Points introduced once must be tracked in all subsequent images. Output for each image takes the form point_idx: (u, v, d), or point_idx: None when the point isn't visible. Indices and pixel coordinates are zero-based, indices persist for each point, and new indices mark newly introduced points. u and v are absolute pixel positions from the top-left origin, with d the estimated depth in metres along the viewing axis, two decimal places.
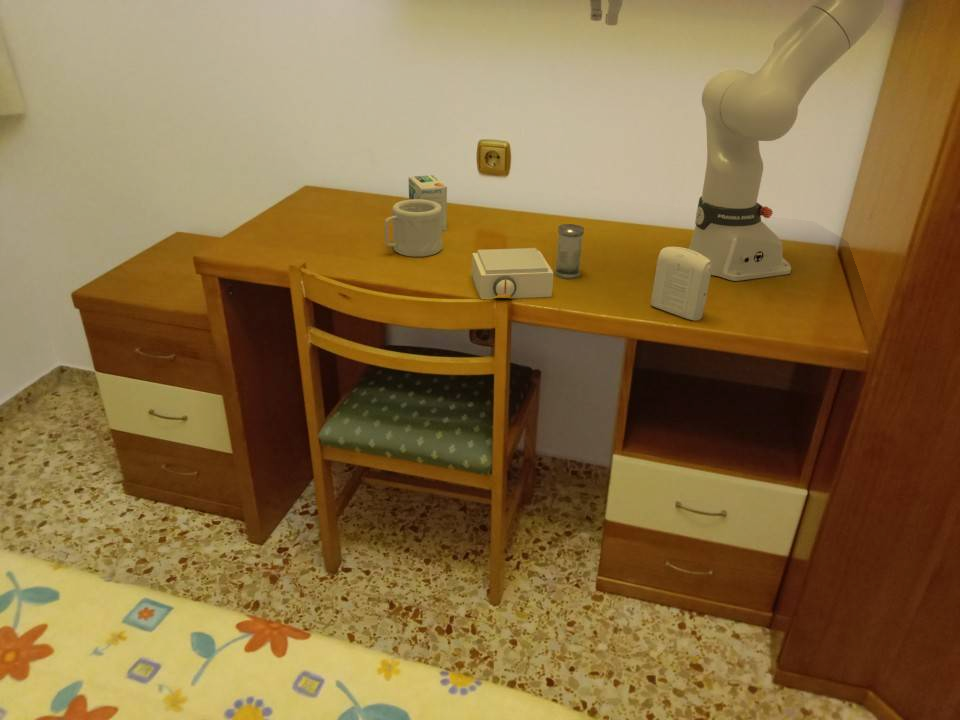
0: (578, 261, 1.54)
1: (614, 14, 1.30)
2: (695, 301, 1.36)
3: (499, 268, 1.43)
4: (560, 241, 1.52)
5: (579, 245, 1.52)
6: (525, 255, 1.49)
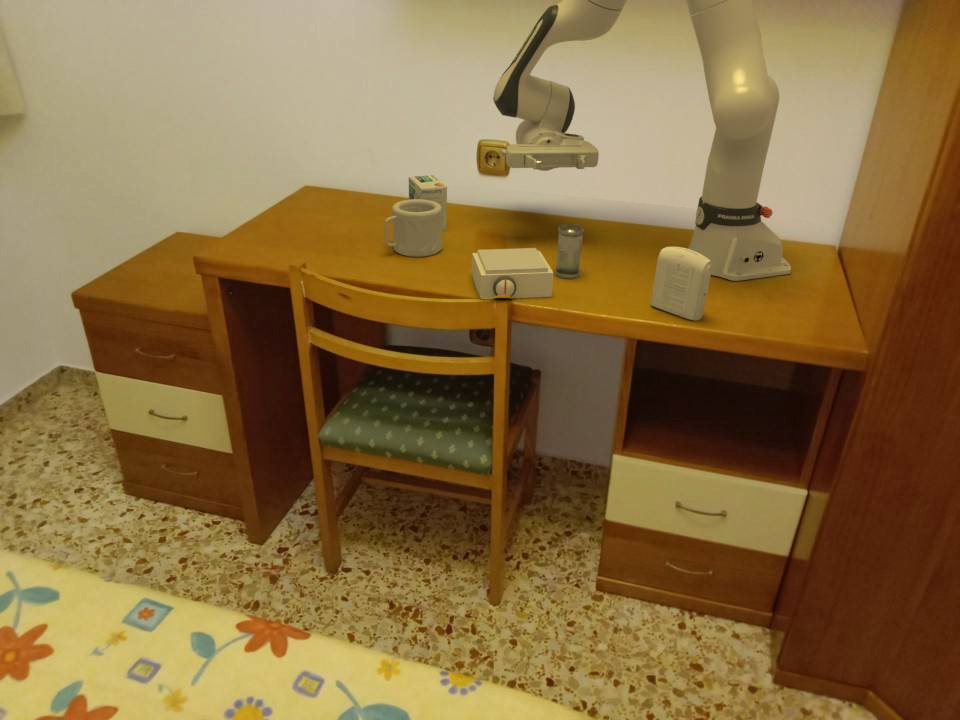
0: (578, 261, 1.54)
1: (532, 162, 1.58)
2: (695, 301, 1.36)
3: (499, 268, 1.43)
4: (560, 241, 1.52)
5: (579, 245, 1.52)
6: (525, 255, 1.49)
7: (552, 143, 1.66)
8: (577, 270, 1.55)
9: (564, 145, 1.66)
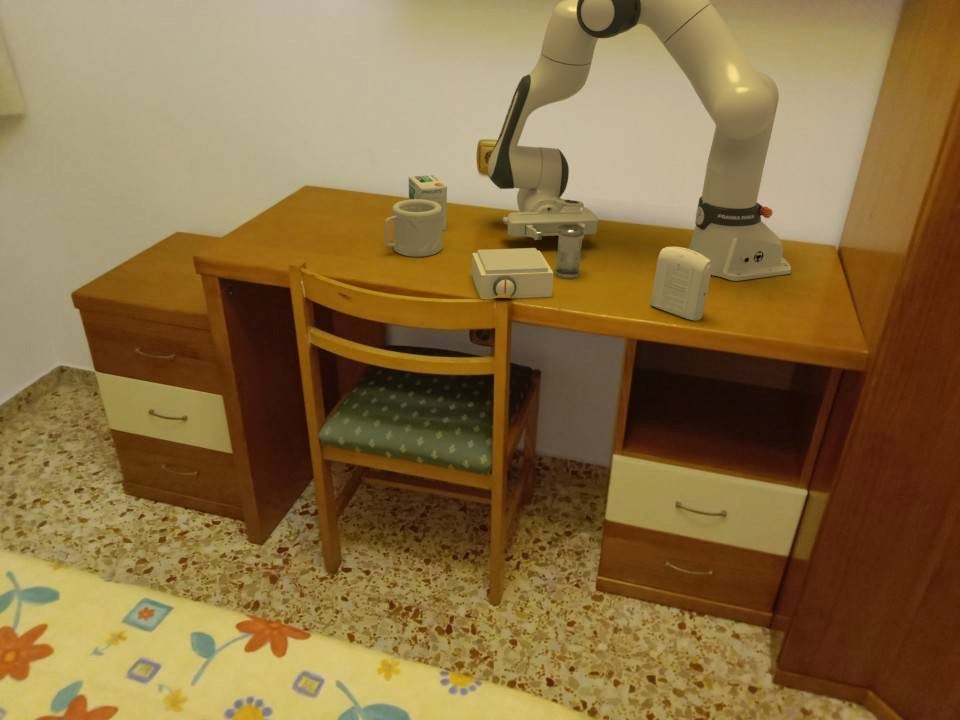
0: (578, 261, 1.54)
1: (533, 232, 1.62)
2: (695, 301, 1.36)
3: (499, 268, 1.43)
4: (560, 241, 1.52)
5: (579, 245, 1.52)
6: (525, 255, 1.49)
7: (552, 211, 1.69)
8: (577, 270, 1.55)
9: (564, 212, 1.70)
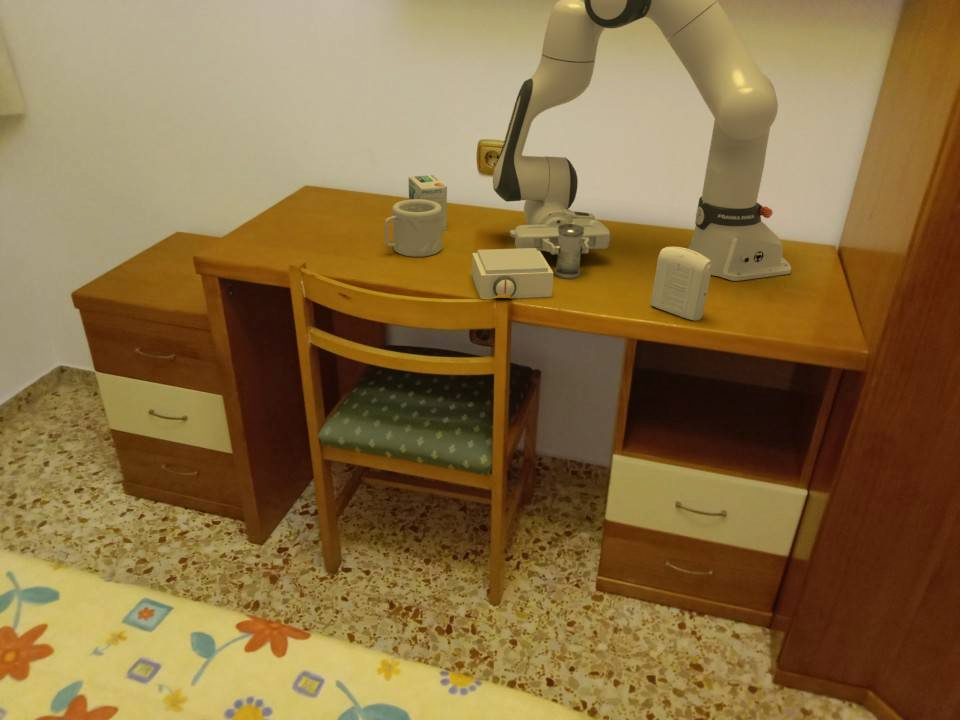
0: (578, 261, 1.54)
1: (550, 247, 1.54)
2: (695, 301, 1.36)
3: (499, 268, 1.43)
4: (560, 241, 1.52)
5: (579, 245, 1.52)
6: (525, 255, 1.49)
7: (562, 223, 1.61)
8: (577, 270, 1.55)
9: None
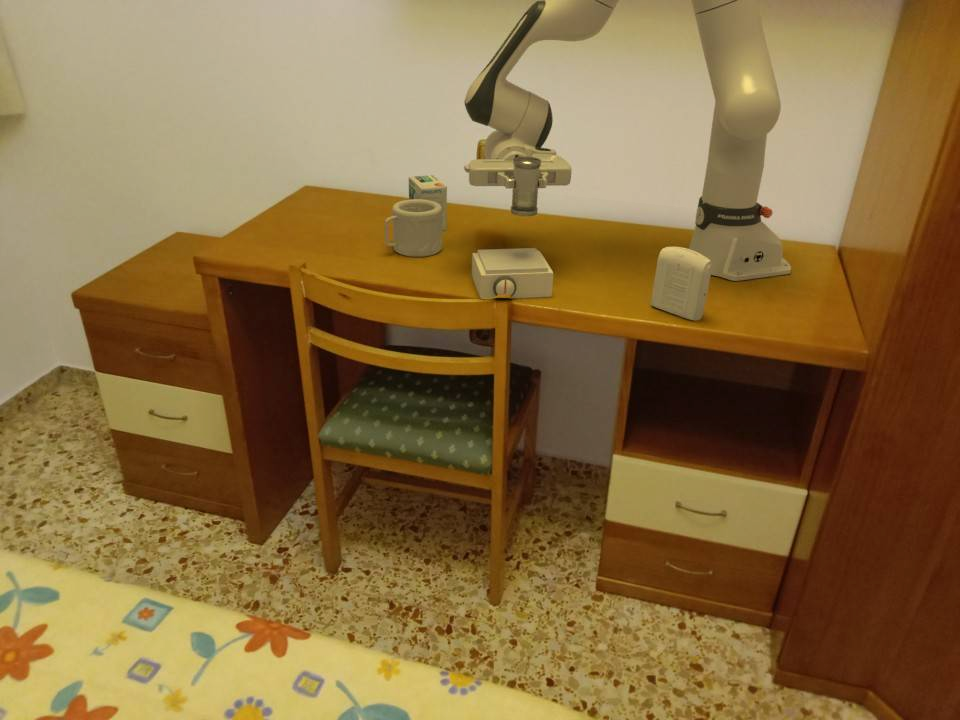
0: (535, 197, 1.42)
1: (504, 180, 1.42)
2: (695, 301, 1.36)
3: (499, 268, 1.43)
4: (515, 174, 1.40)
5: (536, 179, 1.40)
6: (525, 255, 1.49)
7: None
8: (534, 207, 1.43)
9: None
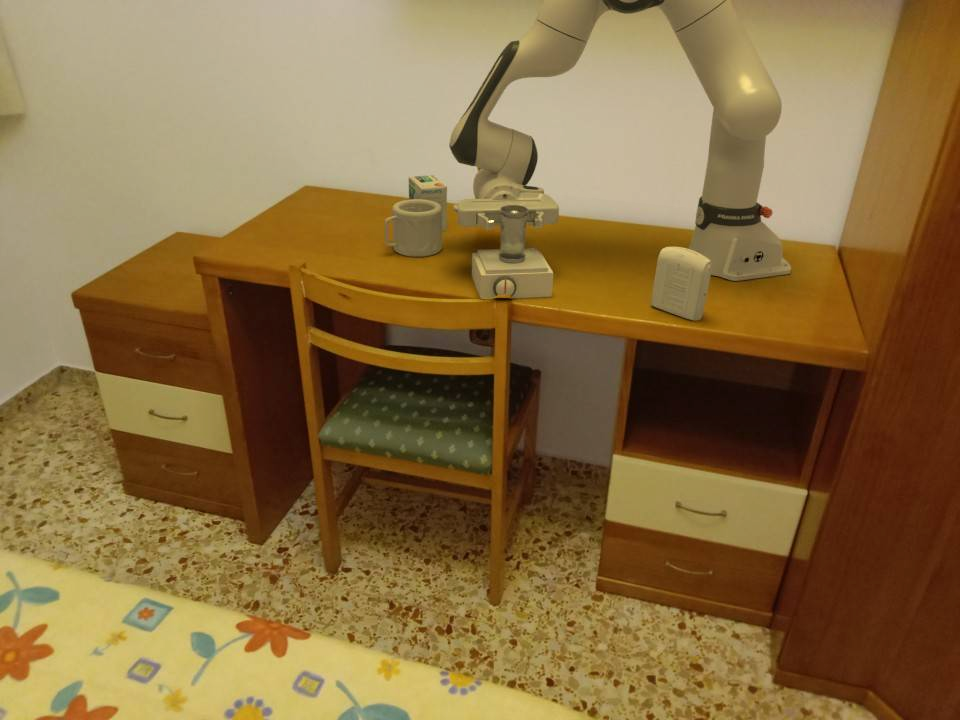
0: (522, 244, 1.45)
1: (484, 222, 1.44)
2: (695, 301, 1.36)
3: (499, 268, 1.43)
4: (502, 223, 1.43)
5: (523, 227, 1.43)
6: (525, 255, 1.49)
7: (509, 197, 1.51)
8: (522, 254, 1.46)
9: (522, 199, 1.52)
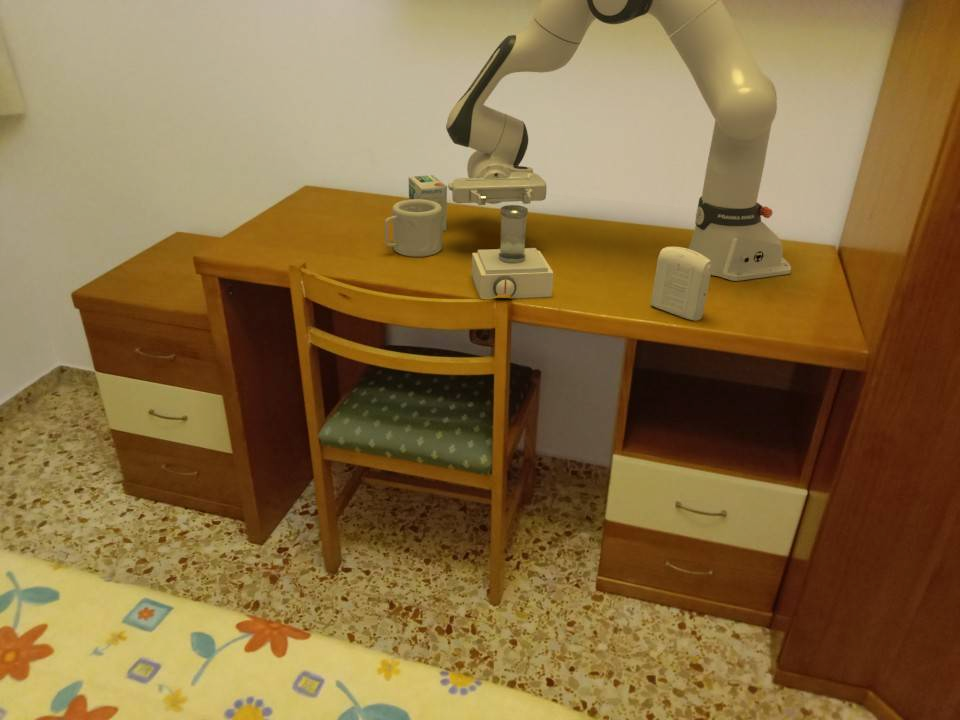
0: (522, 244, 1.45)
1: (477, 198, 1.55)
2: (695, 301, 1.36)
3: (499, 268, 1.43)
4: (502, 223, 1.43)
5: (523, 227, 1.43)
6: (525, 255, 1.49)
7: (500, 176, 1.62)
8: (522, 254, 1.46)
9: (512, 178, 1.63)
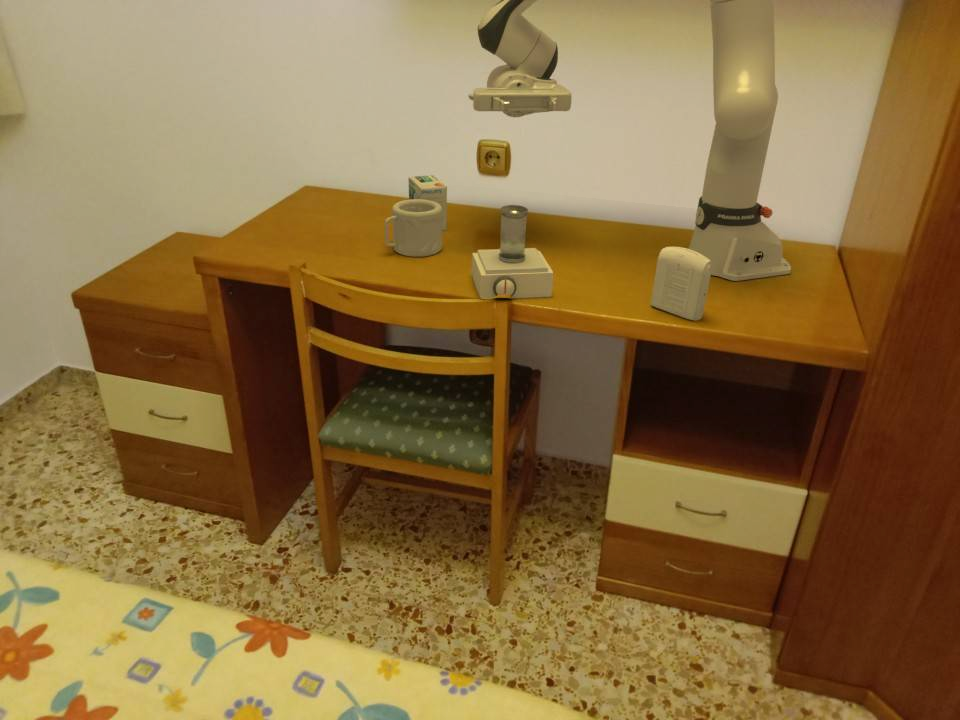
0: (522, 244, 1.45)
1: (499, 104, 1.48)
2: (695, 301, 1.36)
3: (499, 268, 1.43)
4: (502, 223, 1.43)
5: (523, 227, 1.43)
6: (525, 255, 1.49)
7: (522, 86, 1.56)
8: (522, 254, 1.46)
9: (535, 88, 1.56)
